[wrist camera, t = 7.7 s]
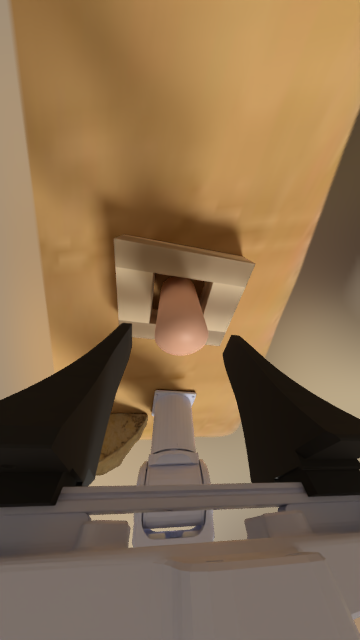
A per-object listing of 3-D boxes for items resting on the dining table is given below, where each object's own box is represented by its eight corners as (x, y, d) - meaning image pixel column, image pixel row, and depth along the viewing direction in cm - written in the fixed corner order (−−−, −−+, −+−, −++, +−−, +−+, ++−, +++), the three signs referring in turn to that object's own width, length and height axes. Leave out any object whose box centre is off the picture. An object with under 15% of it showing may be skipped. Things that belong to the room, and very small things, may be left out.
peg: (191, 308, 19) (200, 357, 13) (159, 304, 19) (152, 353, 12) (198, 278, 17) (215, 317, 11) (163, 272, 17) (157, 310, 10)
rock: (157, 420, 31) (105, 418, 27) (146, 473, 29) (87, 480, 24) (141, 406, 41) (101, 403, 36) (132, 445, 38) (87, 446, 33)
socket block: (214, 330, 22) (219, 345, 19) (126, 320, 20) (119, 335, 18) (242, 256, 16) (255, 264, 14) (123, 234, 14) (113, 238, 12)
